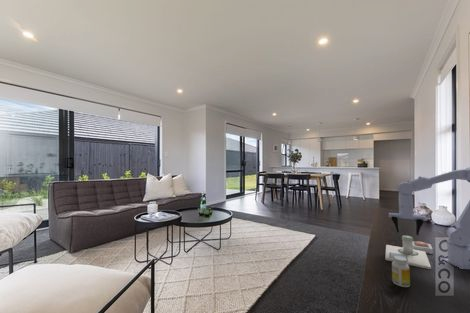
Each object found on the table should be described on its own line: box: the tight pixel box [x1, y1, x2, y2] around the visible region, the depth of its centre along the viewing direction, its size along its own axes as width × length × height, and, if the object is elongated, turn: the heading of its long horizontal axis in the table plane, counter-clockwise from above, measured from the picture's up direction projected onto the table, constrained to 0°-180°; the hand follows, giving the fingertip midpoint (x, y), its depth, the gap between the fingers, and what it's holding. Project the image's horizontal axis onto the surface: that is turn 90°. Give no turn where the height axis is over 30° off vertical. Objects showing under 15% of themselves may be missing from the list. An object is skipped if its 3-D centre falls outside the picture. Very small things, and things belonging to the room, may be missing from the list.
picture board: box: [384, 244, 432, 270], centre depth 104 cm, size 20×16×1 cm
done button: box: [414, 240, 428, 247], centre depth 112 cm, size 5×5×1 cm
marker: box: [401, 235, 414, 254], centre depth 106 cm, size 4×4×8 cm
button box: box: [413, 240, 434, 255], centre depth 111 cm, size 8×8×2 cm
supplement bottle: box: [391, 256, 411, 288], centre depth 81 cm, size 5×5×10 cm
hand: (407, 233), depth 107 cm, fingers open, 7 cm apart
